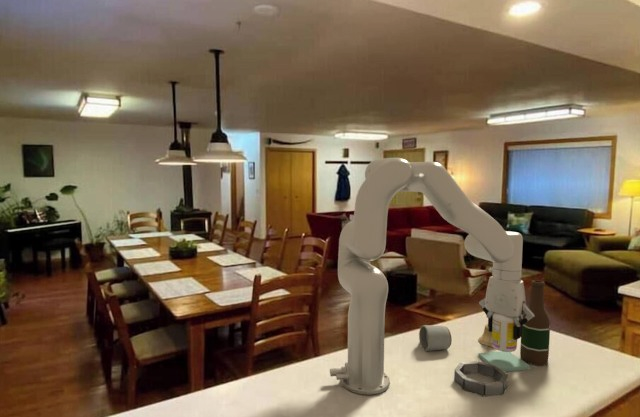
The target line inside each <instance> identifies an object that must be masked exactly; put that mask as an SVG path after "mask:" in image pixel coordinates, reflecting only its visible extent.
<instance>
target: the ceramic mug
mask: <svg viewBox="0 0 640 417" xmlns="http://www.w3.org/2000/svg"><path fill="white" fill-rule="evenodd" d="M418 336H419V337H418V339H419V344H420V346H421V349H422V350H423V351H425V352H427V351H428V352H429V351H444V350H447V349H448V350H449V348H450V347H451V346H452V333H451V331H450V329H449V328H448V327H447V326H444V325H428V324H423V325H421V326H420V328H419V332H418Z"/></svg>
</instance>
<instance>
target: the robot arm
mask: <svg viewBox="0 0 640 417" xmlns="http://www.w3.org/2000/svg"><path fill="white" fill-rule="evenodd" d="M398 192H408V193H409V192H410V193H411V192H412V193H414V192H415V193H422V195H424V197H425V198H426V199H427V200H428V201H429V203H430V204H431V205H432V207H433V208H434V209H435V210H436V211H437V212H438V214H439V215H440V217H442V219H443V220H445V221H447V223H449V224H450V225H452V226H454V227H456V228H458V229H460V230H461V231H463V232H465V233H466V234H467V236H466V237H465V239H464V243H463V244H464V248H465V250H466V252H467V253H468V254H470V255H471V256H473V257H475V258H479V259H482V260H485V261H489V262H492V267H489V268H488V272H490V273H491V275H492V276H489V277H488V278H489V279H488V283H487V286H486V291H485V297H484V298H483V299H481V300H480V301H479V302H478V303H479V304H478V305H479V306H480V307H481V308H482V311H483V312H484V314H485V315H486V318H487V324H488V327H489V332H492V323H493V314H494V313H498V314H502V315H506V316H509V317H513V319H514V321H515V324H516V325H515V326H514V332H513V339H514V340H517V341H518V340H519V339H521V336H522V326H523V325H524V324H525V323H527V322H528V321H529V320H531V319H532V318H533V317H534V316H535V315H534V314H533V313H532V312H531V310H530V309H529V308H528V307H529V306H527V303H526V302H527V301H526V288H525V284H524V280H522V270H523V269H522V268H523V267H522V264H523V244H524V241H523V240H524V238H523V235H522V234H521V233H520V232H517V231H511V230H508V231H507V230H505V228H503V226H502V225H501V224H500V222H498V221H497V220H496V219H494V217H492V216H491V215H490V214H489V213H488V212H486V211H485V210H484V209H482V208H481V207H480V206H479V205H477V204H476V203H474V202H473V201H472V200H471V199H470V198H469V197H468V196H467V195H466V193H465V192H464V190H462V189H461V187H460V185H459V184H458V183H457V181H456V180H455V179H454V178H453V177H452V175H451V174H450V173H449V172H448V170H447V168H446V167H444V165H443V164H441V163H440V162H436V161H414V162H413V161H408V160H406V159H404V158H401V157H386V158H385V157H384V158H376V159H374V160H371V161H370V162H369V163H368V165H367V166H366V168H365V171H364V181H363V182H362V184H361V185H360V187H359V189H358V191H357V195H356V197H355V203H354V211H353V212H354V213H353V220H351V221H348V223H346V224H345V225H344V226H343V227H342V229H341V232H340V233H339V234H340V235H339V238H338V254H337V257H338V258H337V277H338V278H337V279H338V281H339V284H340V286H342V288H343V289H344V290H345V291H346V292H348V293H349V295H350V302H349V306H348V312H347V362H344V366H341V367H340V368H337V367H336V368H334V367H333V368H329V376H330V377H336V378H335V379H336V380H337V381H338V380H339V381H340V380H341V383H342V386H343V387H344V388H345V389H346V390H348V391H350V392H352V393H356V394H359V395H367V396H371V395H378V394H381V393H383V392H386V391H387V390H388V389H389V387H390V384H391V383H390V381H391V380H390V376H388V375H387V374H386V373H385V366H384V365H385V320H386V319H385V318H386V316H385V314H386V306H387V304H386V303H387V299H388V294H389V283H388V280H387V277H386V276H385V274H384V273H383V272H382V270H380V269H379V268H378V267H376V266H374V265H372V264H371V261H377V260H379V259H380V258H381V257H382V256H383V255H384V253H385V250H386V245H387V228H388V213H389V207H390V204H391V202H392V200H393V198H394V196H395V195H396V194H397V193H398ZM524 313H525V314H526V317H525V318H523V315H524Z"/></svg>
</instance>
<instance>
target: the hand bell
mask: <svg viewBox="0 0 640 417" xmlns="http://www.w3.org/2000/svg"><path fill="white" fill-rule="evenodd" d="M478 342H479V343H480V344H481V345H484V346H487V347H491V348H494V347H493V346H492V332H489V327H488V323H487V324H485V325H484V329H483V333H482V335H481V336H479V338H478Z"/></svg>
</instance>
